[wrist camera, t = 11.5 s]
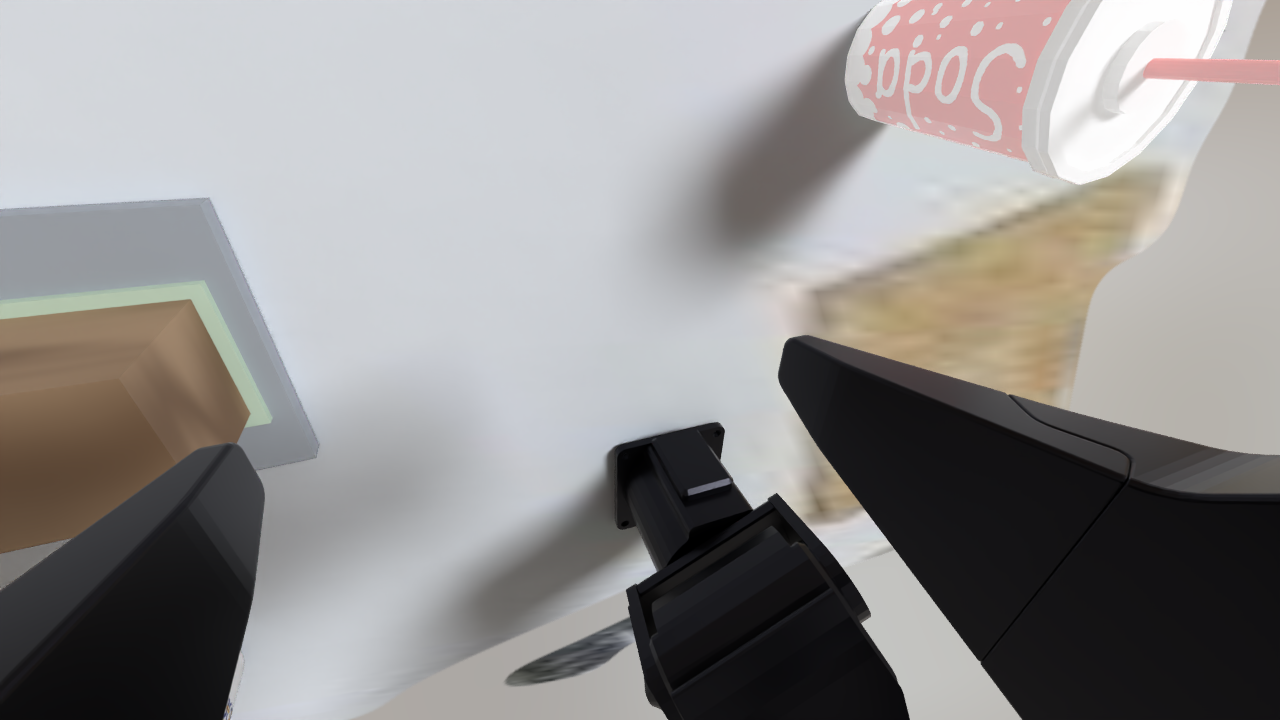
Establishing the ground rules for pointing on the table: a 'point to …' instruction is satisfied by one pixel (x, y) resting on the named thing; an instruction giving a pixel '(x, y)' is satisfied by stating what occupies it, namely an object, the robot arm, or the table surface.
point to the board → (157, 294)
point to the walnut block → (103, 411)
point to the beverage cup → (1041, 74)
